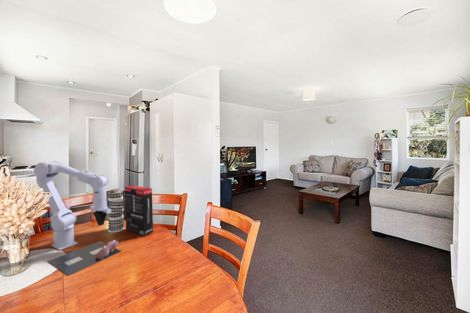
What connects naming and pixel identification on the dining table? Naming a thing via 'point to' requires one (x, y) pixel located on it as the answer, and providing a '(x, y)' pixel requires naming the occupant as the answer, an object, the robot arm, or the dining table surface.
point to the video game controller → (107, 249)
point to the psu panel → (80, 258)
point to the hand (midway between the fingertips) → (100, 224)
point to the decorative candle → (115, 210)
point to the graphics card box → (139, 209)
